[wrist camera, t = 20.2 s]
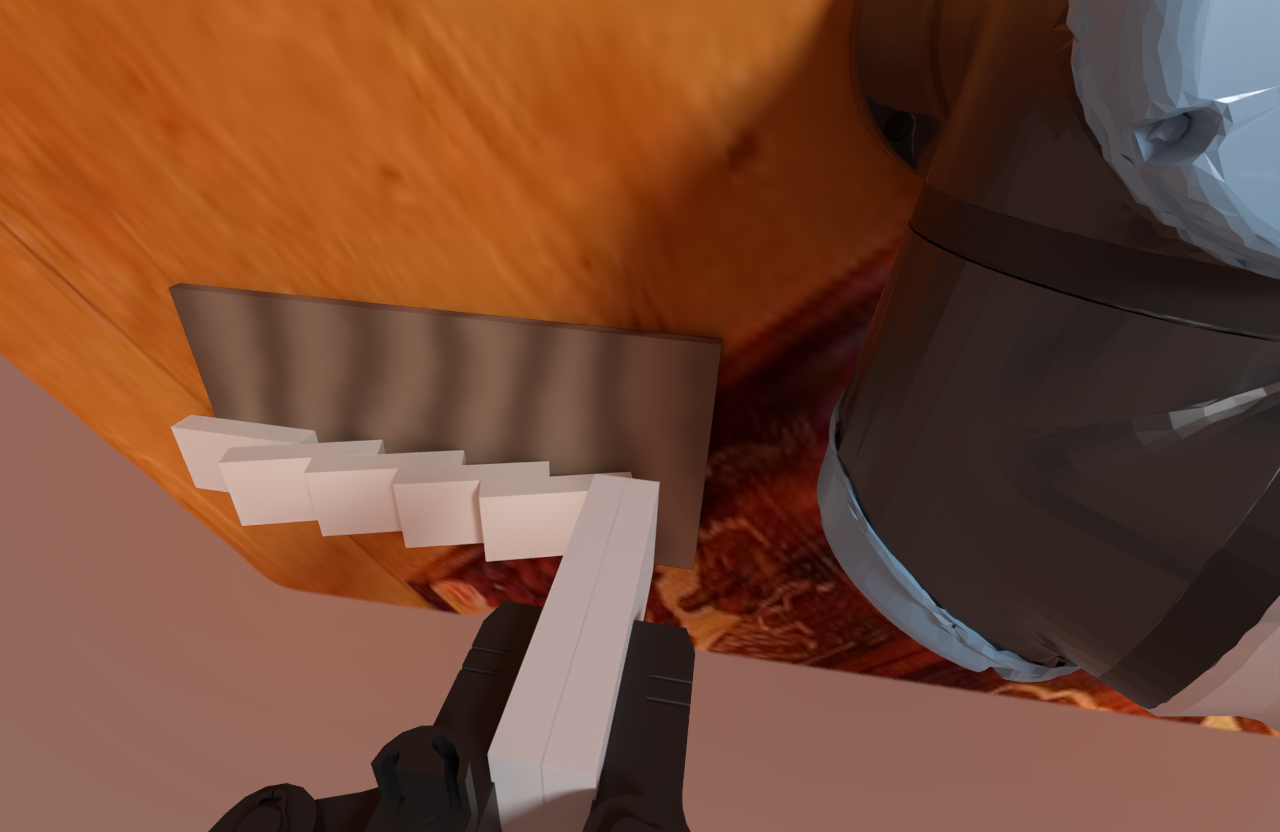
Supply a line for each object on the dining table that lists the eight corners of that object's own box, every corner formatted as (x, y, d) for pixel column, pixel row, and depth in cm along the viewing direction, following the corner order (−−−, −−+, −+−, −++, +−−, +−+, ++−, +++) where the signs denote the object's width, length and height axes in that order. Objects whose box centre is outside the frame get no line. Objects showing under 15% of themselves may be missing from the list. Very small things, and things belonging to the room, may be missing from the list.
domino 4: (549, 476, 44) (392, 484, 42) (551, 538, 47) (405, 547, 45) (549, 461, 46) (398, 468, 44) (551, 521, 49) (410, 530, 47)
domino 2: (377, 453, 45) (218, 462, 43) (390, 514, 48) (242, 525, 46) (382, 439, 47) (229, 447, 45) (395, 499, 50) (251, 509, 48)
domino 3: (461, 464, 45) (303, 473, 43) (469, 526, 48) (322, 536, 46) (464, 450, 46) (312, 457, 45) (471, 510, 49) (330, 519, 48)
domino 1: (298, 444, 46) (170, 426, 47) (316, 505, 49) (195, 487, 50) (314, 430, 48) (190, 414, 49) (331, 490, 51) (214, 473, 52)
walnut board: (722, 339, 39) (721, 345, 39) (694, 561, 50) (693, 569, 49) (179, 283, 44) (168, 287, 43) (256, 497, 54) (248, 504, 53)
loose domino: (635, 487, 43) (478, 497, 41) (631, 549, 46) (486, 561, 44) (630, 471, 45) (480, 480, 43) (628, 532, 48) (487, 543, 46)
